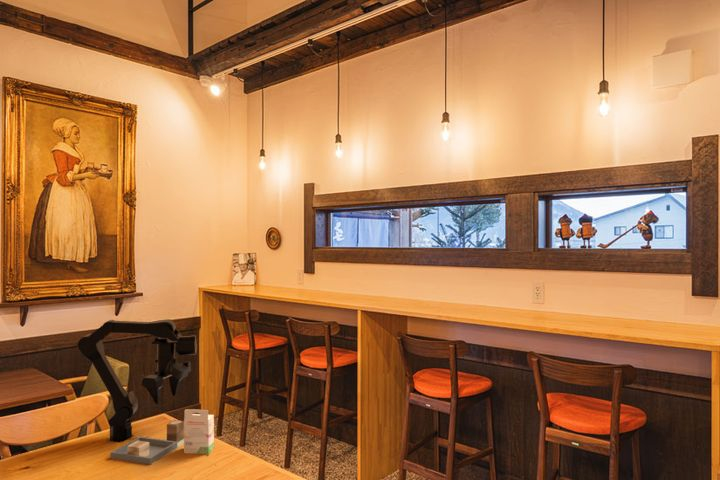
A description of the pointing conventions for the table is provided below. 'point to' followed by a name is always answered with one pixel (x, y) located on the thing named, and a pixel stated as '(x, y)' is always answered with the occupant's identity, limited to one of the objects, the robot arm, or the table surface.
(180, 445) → the sage tile
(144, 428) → the table surface
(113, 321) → the robot arm
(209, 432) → the ink box
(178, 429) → the walnut box
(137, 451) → the beech box
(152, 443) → the grey tray
